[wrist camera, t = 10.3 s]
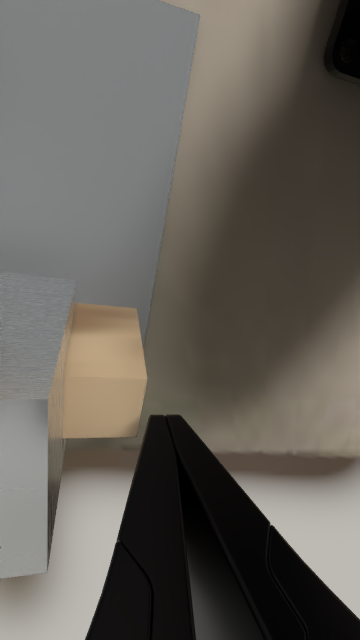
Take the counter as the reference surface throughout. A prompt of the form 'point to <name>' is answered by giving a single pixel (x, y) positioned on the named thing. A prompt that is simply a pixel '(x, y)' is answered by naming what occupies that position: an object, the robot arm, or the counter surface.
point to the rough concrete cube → (31, 415)
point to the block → (104, 373)
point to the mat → (90, 140)
